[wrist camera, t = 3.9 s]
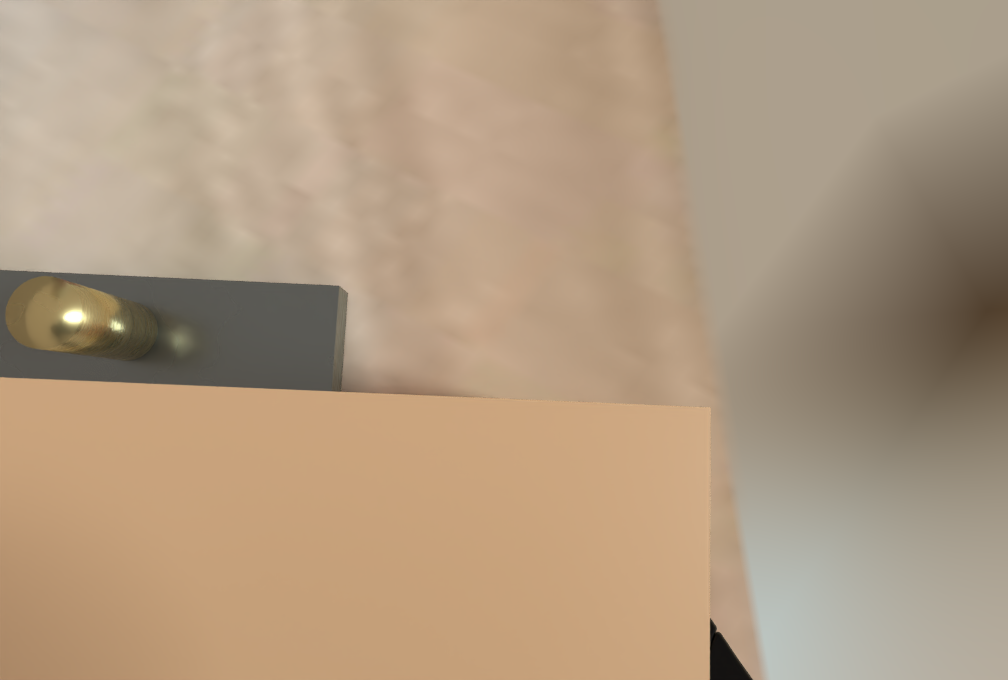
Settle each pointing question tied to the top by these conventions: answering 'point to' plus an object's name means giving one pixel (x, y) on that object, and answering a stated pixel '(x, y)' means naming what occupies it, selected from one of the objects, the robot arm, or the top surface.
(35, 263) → the top surface
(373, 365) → the top surface
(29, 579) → the block
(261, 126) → the top surface
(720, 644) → the robot arm
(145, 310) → the chassis
